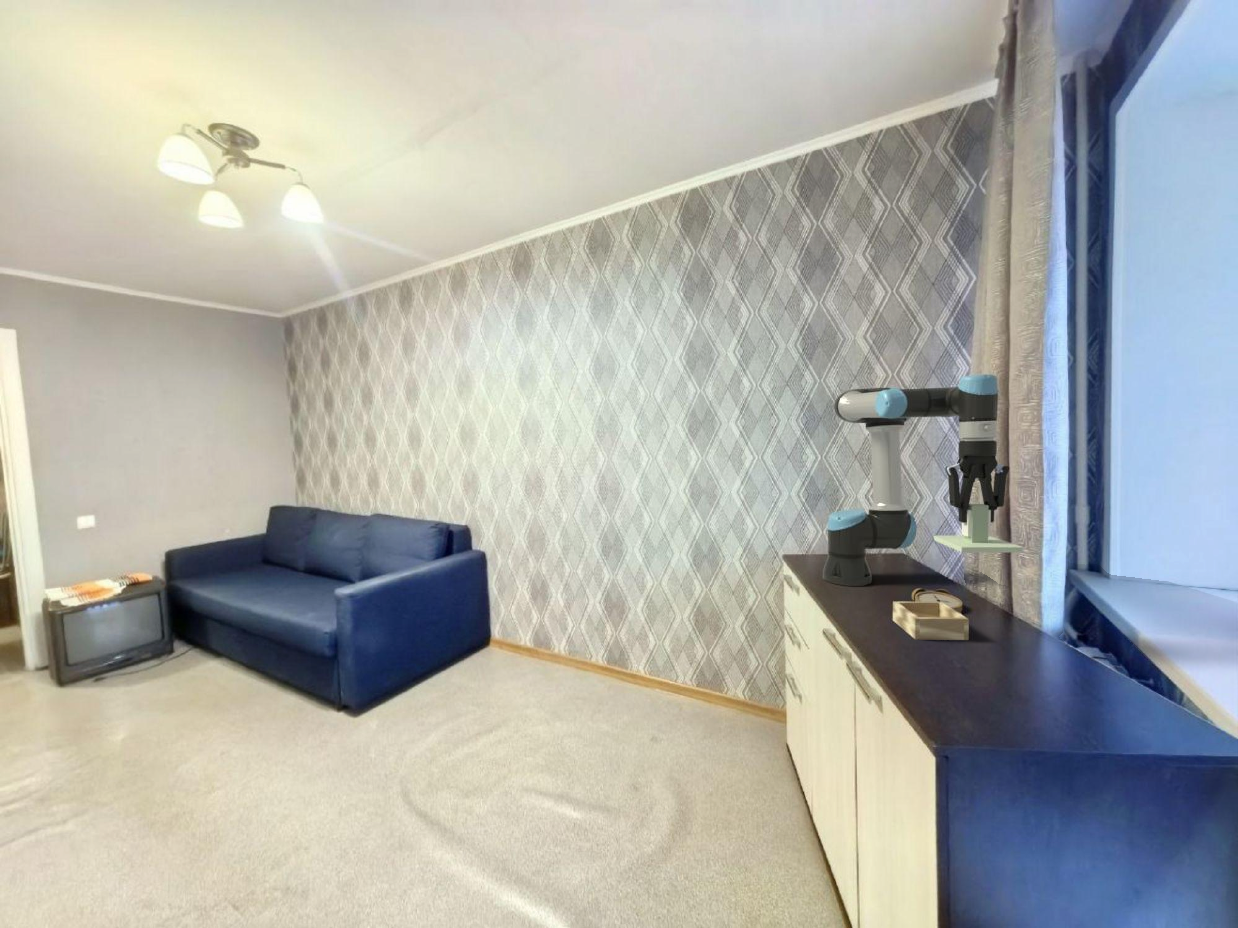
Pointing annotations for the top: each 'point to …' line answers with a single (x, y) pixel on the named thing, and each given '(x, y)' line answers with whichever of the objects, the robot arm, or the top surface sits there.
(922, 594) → the alarm clock
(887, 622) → the top surface
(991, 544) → the lid
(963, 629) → the box
